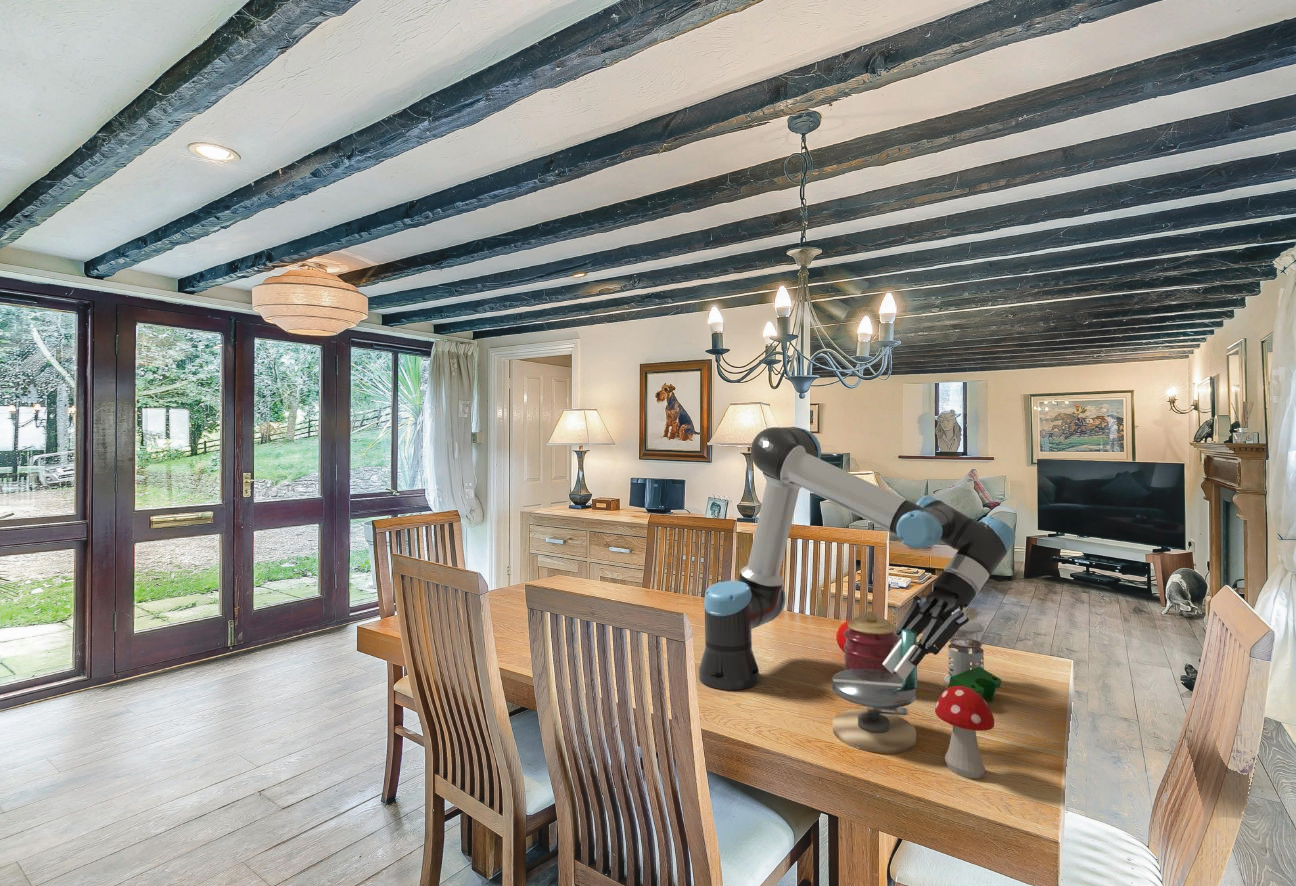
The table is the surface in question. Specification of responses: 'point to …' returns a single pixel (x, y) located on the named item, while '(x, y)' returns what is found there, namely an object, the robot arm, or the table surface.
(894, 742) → the cylinder
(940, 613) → the robot arm
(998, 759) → the table surface
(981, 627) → the french press
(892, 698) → the crank wheel
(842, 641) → the tomato
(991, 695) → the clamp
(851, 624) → the canister
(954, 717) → the decorative mushroom
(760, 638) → the table surface
